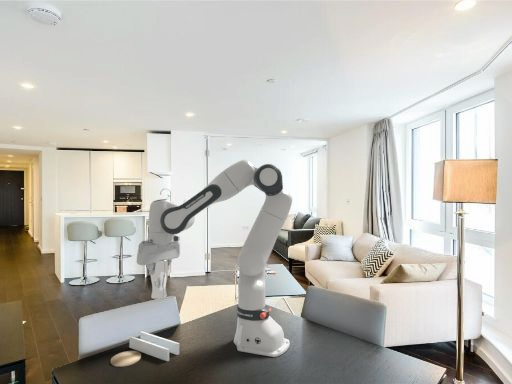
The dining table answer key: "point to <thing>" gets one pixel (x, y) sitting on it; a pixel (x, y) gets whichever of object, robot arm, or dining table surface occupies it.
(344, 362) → the dining table surface
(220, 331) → the dining table surface
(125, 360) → the cork coaster
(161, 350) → the low plastic fence
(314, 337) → the dining table surface
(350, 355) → the dining table surface
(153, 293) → the beer glass
